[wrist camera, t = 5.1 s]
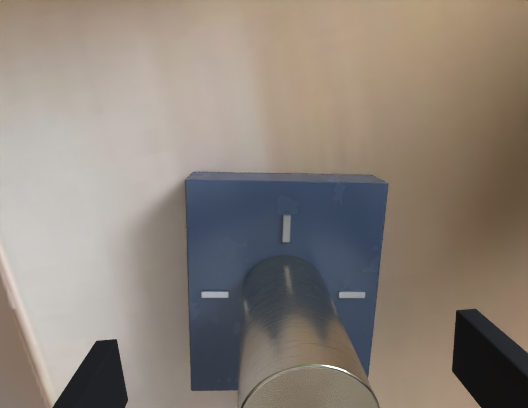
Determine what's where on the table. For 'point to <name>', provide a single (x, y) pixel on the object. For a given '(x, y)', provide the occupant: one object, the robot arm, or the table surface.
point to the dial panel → (277, 254)
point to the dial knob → (296, 342)
